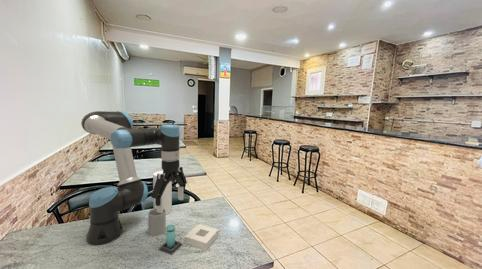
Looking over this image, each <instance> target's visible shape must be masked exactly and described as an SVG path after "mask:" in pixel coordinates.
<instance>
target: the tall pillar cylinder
mask: <svg viewBox="0 0 482 269" xmlns="http://www.w3.org/2000/svg"><path fill="white" fill-rule="evenodd" d="M157 174H163V170H158V171H155V172H153V174H152V188H153V189H154V186H155V183H156V180H157ZM172 181H173V180H172ZM172 181H170V182H169V183H168V184H167V186H166V188H165V190H164V192H163V195H162V198H163V209H165V211H166V216H167V215H169V214H171V213H172V211H173V210H172V208H173V207H172V206H173V205H172V204H173V200H172V198H173V195H172V192H173V190H172V189H173V187H172V186H173V185H172V184H173V182H172ZM153 189H152V190H153ZM152 199H153V204H152V205H153V209H156V208H157V206H156V199H155V198H152Z"/></svg>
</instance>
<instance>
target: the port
mask: <svg viewBox="0 0 482 269" xmlns="http://www.w3.org/2000/svg"><path fill="white" fill-rule="evenodd" d="M219 231H220V230H219V229H218V228H214V227H211V226H208V225H204V224H200V223H198V224H197V225H196V226H195V227H194V228H193V229H191V230H190V231H189V232H188V233H187V234H186V235H185V236H184V244H186V245H187V246H192V247H195V248H197V249H201V250H204V251H207V250H208V249H209V248H210V246H211V245H212V244H213V243H214V241H216V239H218V237H219V234H220V233H219Z"/></svg>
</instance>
